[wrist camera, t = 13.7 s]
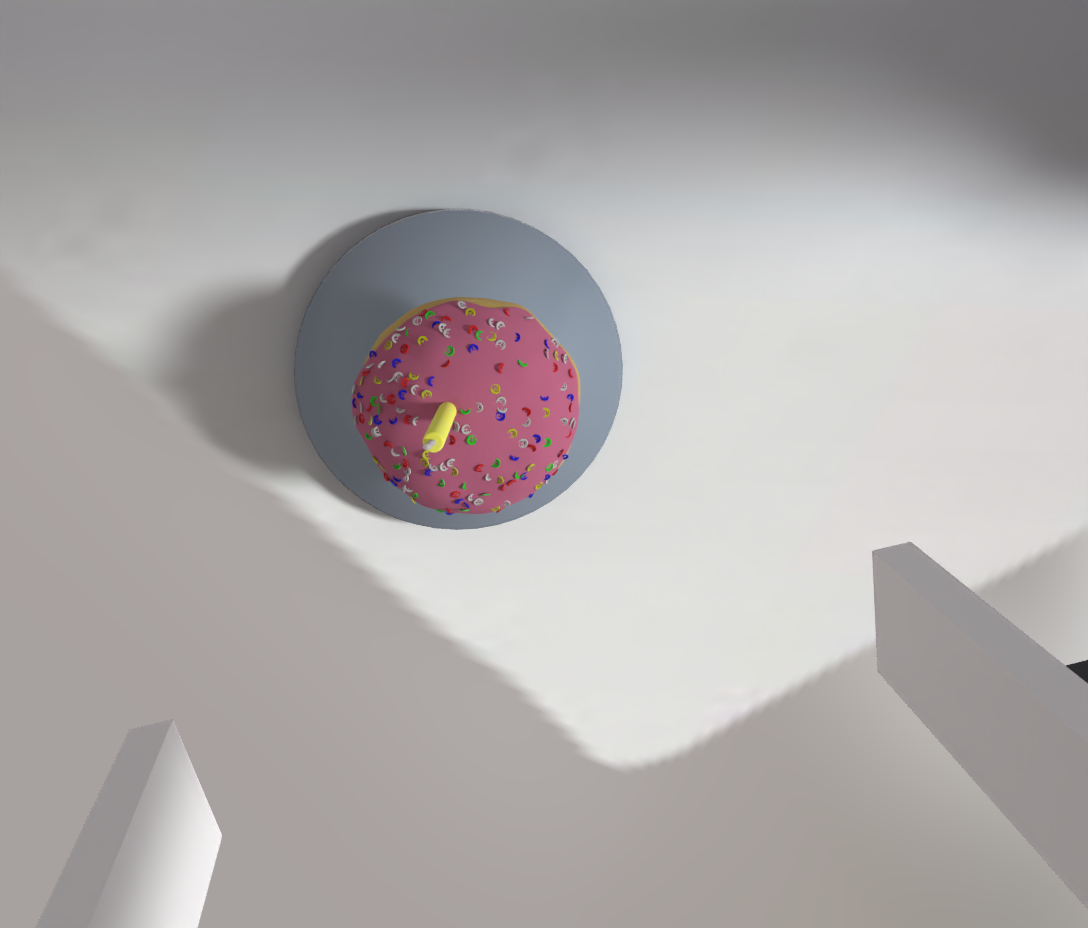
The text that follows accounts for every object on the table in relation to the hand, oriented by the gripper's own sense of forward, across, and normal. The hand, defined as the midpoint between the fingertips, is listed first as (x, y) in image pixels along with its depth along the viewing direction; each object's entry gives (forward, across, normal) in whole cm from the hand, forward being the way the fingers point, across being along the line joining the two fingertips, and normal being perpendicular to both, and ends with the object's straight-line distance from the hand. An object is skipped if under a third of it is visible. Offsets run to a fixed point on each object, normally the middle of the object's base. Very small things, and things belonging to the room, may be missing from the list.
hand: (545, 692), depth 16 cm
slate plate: (+24, 0, 0) cm, 24 cm away
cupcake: (+23, 0, 0) cm, 23 cm away
